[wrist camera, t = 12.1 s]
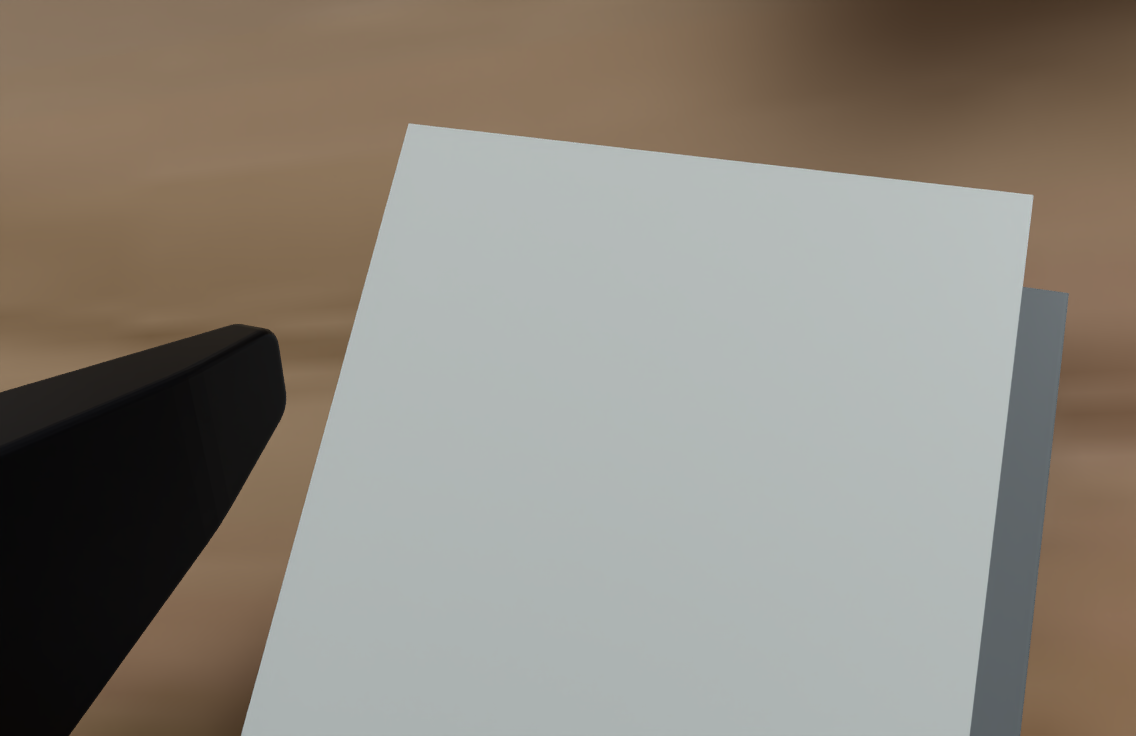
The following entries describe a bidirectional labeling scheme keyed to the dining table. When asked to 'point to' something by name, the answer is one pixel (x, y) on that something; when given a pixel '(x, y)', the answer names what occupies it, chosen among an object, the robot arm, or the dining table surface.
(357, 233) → the dining table surface
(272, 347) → the robot arm
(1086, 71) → the dining table surface
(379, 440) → the white rectangular block
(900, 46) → the dining table surface
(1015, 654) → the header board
